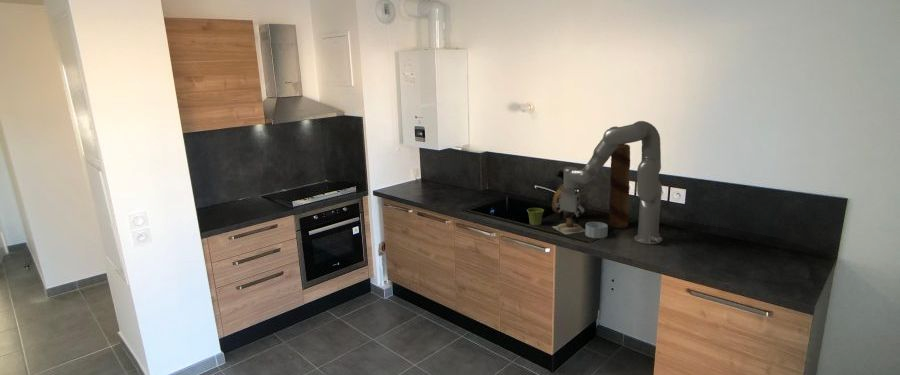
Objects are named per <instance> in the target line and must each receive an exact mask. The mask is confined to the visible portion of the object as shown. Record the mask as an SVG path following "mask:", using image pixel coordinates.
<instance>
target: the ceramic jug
mask: <svg viewBox="0 0 900 375" xmlns="http://www.w3.org/2000/svg"><path fill="white" fill-rule="evenodd" d="M554 176H555V177H557V178H560V179H561V180H562V182H561V185H559V187H558V188H557V190H556V192H555V193H554V194H553V197H552V202H551V207H552V211H553V212H554V214H555V215H556V218H559V212H558V210H557V209H556V206H555V204H556V203H559V202H560V200H561V194H562V192H563V179H564V170H562V169H560V170H558V171H557V172H556V174H555V175H554ZM559 207H560V205H559ZM563 212H564V214H563V219H567V218H574V217H575V216H576V214H575V213H574V212H569V211H564V210H563Z"/></svg>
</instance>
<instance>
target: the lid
mask: <svg viewBox="0 0 900 375" xmlns="http://www.w3.org/2000/svg"><path fill="white" fill-rule="evenodd" d="M565 220H566V221H565V222H564V223H559V224H557V226H558V230H560V231H563V232H578V233H580V232H579V231H581V230H582V228H583V227H582V225H580V224H579V223H577V224H575V222H574V217H572V218H565ZM558 230H557V231H558ZM560 231H559V232H560Z"/></svg>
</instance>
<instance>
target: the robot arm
mask: <svg viewBox="0 0 900 375" xmlns="http://www.w3.org/2000/svg"><path fill="white" fill-rule="evenodd" d="M640 141H641V161H640V162H639V164H638V166H637V172H636V178H637V180H636V190H637V196H638V197H639V207H638V208H639V209H638V223H637V224H638V225H637V235H635V236H634V237H633V240H634V241H635V242H637V243H640V244H645V245H657V244H660V243H661V242H662V241H663V240H664V238H663V237H661V236H660V233H659V227H660V213H661V204H662V203H661V201H662V193H663V186H662V183H661V182H660V180H659V178H660V177H659V176H660V175H659V174H660V171H661V169H662V156H661V155H662V154H661V153H662V152H661V150H662V149H661V136H660V133H659V131H658V129H657V128H656V127H655V126H654V125H653V124H652V123H650V122H648V121H645V120H638V121H636V122H633V123H632V124H627V125H623V126H612V127H609V128H608V129H606V130H605V131H604V133H603V136H602V139H600V141H599V143H598V144H597V145H596V146H595V148H594V150H593V153H592V156H591V158H590V159H589V161H588V162H587V163H586V165H585V166H584V167H582V168H581V169H579V168H577V167H575V166H566V167H565V168H563V172H564V179H563V180H562V182H563V192H562V194H561V200H560V202H559V203H556V204H555V206H556V209H557V210H558V212H559V217H558V220H559V221H561V220H564V218H563V214H564V212H563V210H564V211H569V212H574V213H575V216H574V217H575V220H574V224H579V223H580V222H581V219H580V218H581V215H583V214H584V212H585V210H586V208H584V207H583V206H582V205H581V197H580V191H581V190H580V189H579V184H583V185H586V184H589V183H590V182H591V181H592V180H593V179H595V177H596V176H597V175H598V174H599V172H600V171H601V170H602V168H603V167H604V166H605V164H606V163H607V162H608V160H610V159H611V155H612V154H613V152H614V151H615V150H616V148H617V147H618V146H619V145H621V144H627V145H628V144H631V143H636V142H640ZM559 205H560V207H559Z"/></svg>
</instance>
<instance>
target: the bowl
mask: <svg viewBox="0 0 900 375" xmlns="http://www.w3.org/2000/svg"><path fill="white" fill-rule="evenodd" d="M608 226H609V225H608V224H607V223H606V222H605V223H604V222H601V221H589V222H586V223H585V226H584V227H585V228H584V229H585V231H584V234H585V236H586V237H588V238H592V239H605V238H607V237H608V228H609V227H608Z"/></svg>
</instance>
